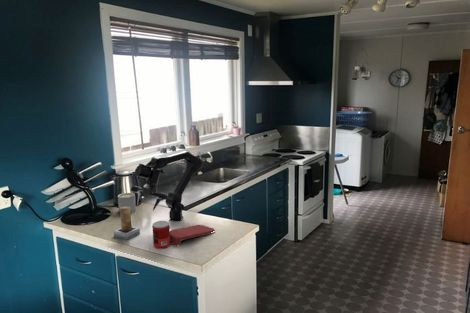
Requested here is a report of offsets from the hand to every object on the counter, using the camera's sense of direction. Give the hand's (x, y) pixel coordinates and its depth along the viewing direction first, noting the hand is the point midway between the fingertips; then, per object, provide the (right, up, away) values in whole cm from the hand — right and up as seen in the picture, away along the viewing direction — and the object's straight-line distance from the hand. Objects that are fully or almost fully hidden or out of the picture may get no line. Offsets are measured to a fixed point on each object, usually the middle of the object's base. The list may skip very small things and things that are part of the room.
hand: (144, 208), depth 195 cm
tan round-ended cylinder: (-7, -11, -7) cm, 15 cm away
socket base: (-7, -13, -7) cm, 16 cm away
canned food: (+13, -15, -20) cm, 28 cm away
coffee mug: (-17, -6, +32) cm, 37 cm away
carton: (+26, -13, -9) cm, 30 cm away
